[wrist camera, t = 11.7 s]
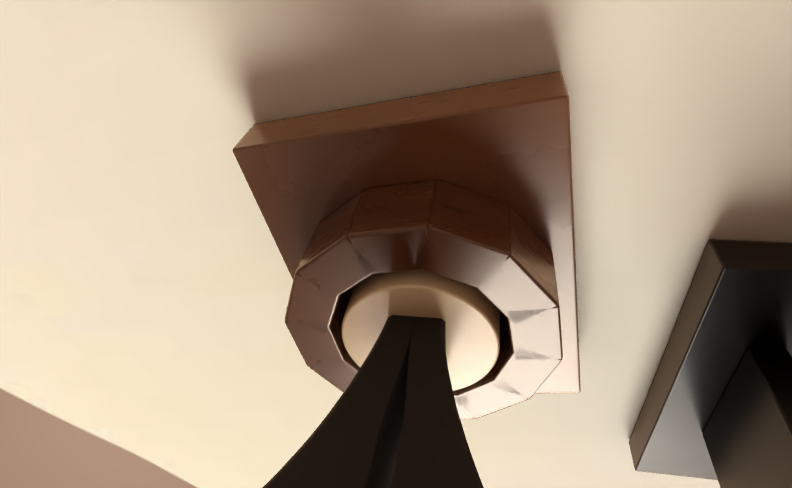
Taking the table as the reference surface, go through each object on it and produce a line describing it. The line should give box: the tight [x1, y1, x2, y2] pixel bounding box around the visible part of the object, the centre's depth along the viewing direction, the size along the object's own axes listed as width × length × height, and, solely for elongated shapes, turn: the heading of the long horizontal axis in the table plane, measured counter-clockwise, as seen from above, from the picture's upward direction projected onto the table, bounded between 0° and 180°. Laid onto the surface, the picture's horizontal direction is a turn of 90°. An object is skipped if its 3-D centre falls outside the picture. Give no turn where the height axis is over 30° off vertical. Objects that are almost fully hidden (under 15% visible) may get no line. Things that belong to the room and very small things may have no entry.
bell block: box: [233, 71, 581, 419], centre depth 14 cm, size 10×8×4 cm
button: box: [342, 270, 500, 391], centre depth 13 cm, size 4×4×2 cm
